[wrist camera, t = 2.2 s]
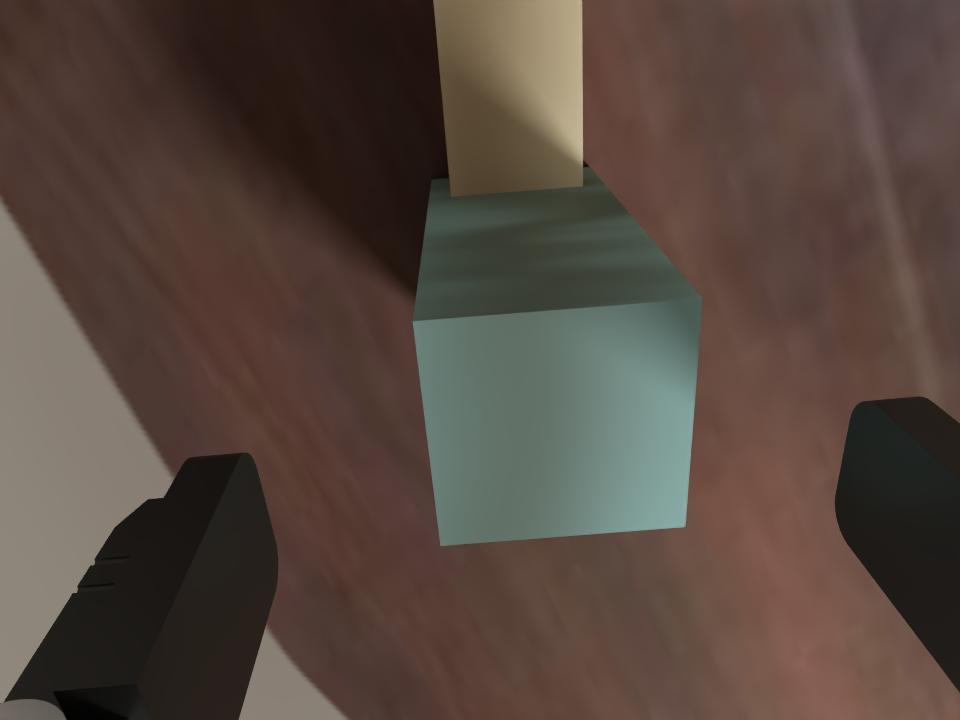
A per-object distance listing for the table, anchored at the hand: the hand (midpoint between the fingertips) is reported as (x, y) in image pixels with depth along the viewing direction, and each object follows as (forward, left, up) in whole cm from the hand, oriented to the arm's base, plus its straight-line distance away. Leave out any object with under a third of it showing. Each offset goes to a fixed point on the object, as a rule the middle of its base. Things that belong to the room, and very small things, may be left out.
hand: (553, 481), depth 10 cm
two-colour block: (0, -6, -10) cm, 12 cm away
